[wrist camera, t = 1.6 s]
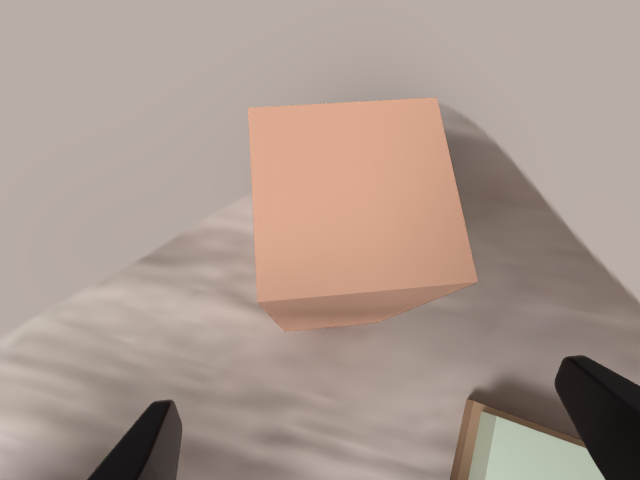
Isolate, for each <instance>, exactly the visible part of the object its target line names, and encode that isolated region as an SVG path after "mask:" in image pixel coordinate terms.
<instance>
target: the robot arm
mask: <svg viewBox="0 0 640 480" xmlns="http://www.w3.org/2000/svg"><path fill="white" fill-rule="evenodd" d="M555 388H556V391H557V393H558V395H559V397H560V399H561V401H562V403H563V405H564V407H565V408H566V410H567V412H568V414H569V416H570V418H571V420H572V422H573V424H574V426H575V428H576V430H577V432H578V433H579V435H580V437H581V439H582V441H583V443H584V445H585V447H586V449H587V450H588V452H589V454H590V456H591V458H592V459H593V461H594V463H595V464H596V466H597V467H598V469H599V471H600V472H601V474H602V475H603V477H604V478H605V480H640V386H639V385H637V384H635V383H633V382H631V381H630V380H628V379H626V378H624V377H622V376H621V375H619V374H617V373H615V372H613V371H611V370H610V369H608V368H606V367H604V366H602V365H601V364H599V363H597V362H595V361H593V360H591V359H590V358H588V357H586V356H582V355H578V356H568V357H565V358H564V359H563V360H562V363H561V365H560V368H559V370H558V373H557V375H556V378H555ZM181 437H182V423H181V420H180V417H179V414H178V411H177V408H176V405H175V403H174V401H173V400H161V401H155V402H153V403H152V404H150V406H149V407H148V408H147V409H146V410H145V411H144V413H143V414H142V415H141V416H140V417H139V419H138V420H137V421H136V422H135V423H134V425H133V426H132V427H131V428H130V429H129V430H128V432H127V433H126V434H125V435H124V436H123V438H122V439H121V440H120V441H119V442H118V444H117V445H116V446H115V447H114V448H113V449H112V451H111V452H110V453H109V454H108V455H107V457H106V458H105V459H104V460H103V461H102V463H101V464H100V465H99V466H98V467H97V468H96V470H95V471H94V472H93V473H92V474H91V476H90V477H89V478H88V479H87V480H176V476H177V468H178V460H179V453H180V445H181Z"/></svg>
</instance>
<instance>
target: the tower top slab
mask: <svg viewBox="0 0 640 480" xmlns="http://www.w3.org/2000/svg"><path fill="white" fill-rule="evenodd" d="M468 480H605V478H604V477H603V475H602V474H601V472H600V471H599V469H598V467H597V466H596V464H595V463H594V461H593V459H592V458H591V456H590V454H589V452H588V450H587V449H586V448H584V447H581V446H578V445H575V444H573V443H570V442H567V441H564V440H561V439H559V438H556V437H553V436H550V435H548V434H545V433H542V432H539V431H536V430H534V429H531V428H528V427H525V426H523V425H520V424H517V423H514V422H511V421H509V420H506V419H503V418H500V417H498V416H495V415H492V414H489V413H486V412H482V411H481V416H480V421H479V426H478V431H477V437H476V442H475V447H474V452H473V457H472V463H471V468H470V473H469V478H468Z"/></svg>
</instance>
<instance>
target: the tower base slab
mask: <svg viewBox="0 0 640 480" xmlns="http://www.w3.org/2000/svg"><path fill="white" fill-rule="evenodd" d="M481 411H482V412H486V413H489V414H492V415H495V416H498V417H500V418H503V419H506V420H509V421H511V422H514V423H517V424H520V425H523V426H525V427H528V428H531V429H534V430H536V431H539V432H542V433H545V434H548V435H550V436H553V437H556V438H559V439H561V440H564V441H567V442H570V443H573V444H575V445H578V446H581V447H584V448H586V447H585V445H584V443H583V441H582V440H579V439H577V438H574V437H571V436H568V435H566V434H563V433H560V432H558V431H555V430H552V429H549V428H547V427H544V426H541V425H538V424H536V423H533V422H530V421H527V420H525V419H522V418H519V417H516V416H514V415H511V414H508V413H506V412H503V411H500V410H497V409H495V408H492V407H489V406H486V405H484V404H481V403H478V402H475V401H472V400H469V399H467V400H466V405H465V410H464V415H463V419H462V424H461V429H460V434H459V439H458V443H457V448H456V453H455V458H454V462H453V467H452V472H451V477H450V480H468V478H469V473H470V468H471V463H472V457H473V452H474V447H475V442H476V437H477V431H478V426H479V421H480V416H481Z"/></svg>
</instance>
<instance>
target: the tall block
mask: <svg viewBox="0 0 640 480" xmlns="http://www.w3.org/2000/svg"><path fill="white" fill-rule="evenodd" d="M248 116H249V136H250V157H251V177H252V199H253V219H254V240H255V261H256V282H257V302H258V303H259V304H260V306H261V307H262V308H263V309H264V310H265V311H266V312H267V313H268V314H269V315H270V316H271V318H272V319H273V320H274V321H275V322H276V323H277V324H278V325H279V326H280V327H281V328H282V329H283V331H284V332H287V331H297V330H308V329H318V328H328V327H339V326H349V325H359V324H369V323H378V322H380V321H383V320H385V319H388V318H390V317H393V316H395V315H398V314H400V313H403V312H405V311H408V310H410V309H413V308H415V307H418V306H420V305H422V304H425V303H427V302H430V301H432V300H435V299H437V298H440V297H442V296H445V295H447V294H450V293H452V292H455V291H457V290H460V289H462V288H465V287H467V286H470V285H472V284H475V283H477V282H478V279H477V275H476V270H475V266H474V261H473V257H472V253H471V248H470V244H469V239H468V235H467V230H466V226H465V221H464V217H463V212H462V208H461V203H460V199H459V194H458V190H457V185H456V181H455V176H454V172H453V167H452V163H451V158H450V154H449V149H448V145H447V141H446V136H445V132H444V127H443V123H442V118H441V114H440V109H439V105H438V100H437V97H436V98H417V99H400V100H383V101H363V102H346V103H327V104H309V105H291V106H273V107H255V108H248Z"/></svg>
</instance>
